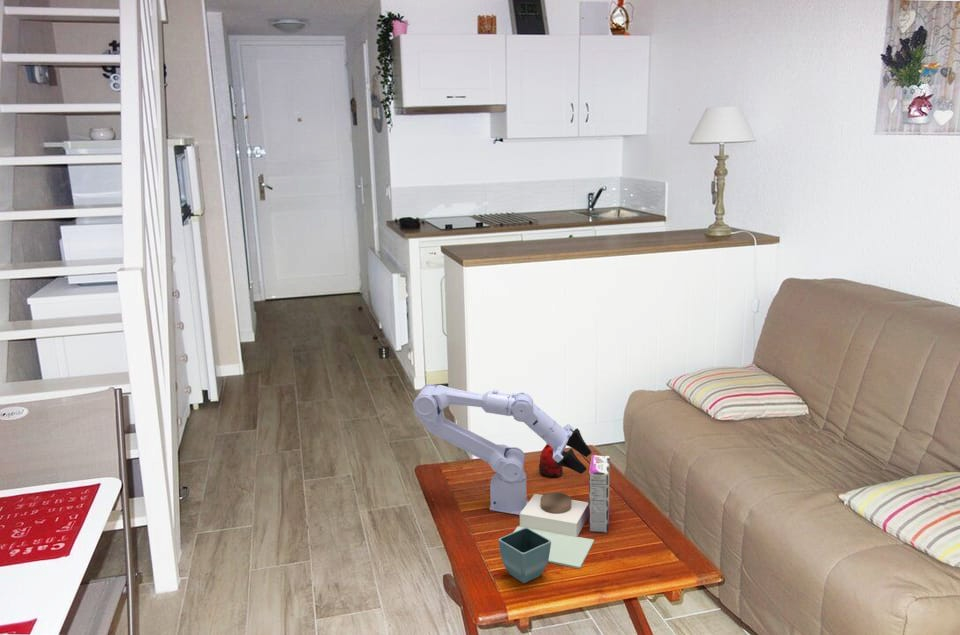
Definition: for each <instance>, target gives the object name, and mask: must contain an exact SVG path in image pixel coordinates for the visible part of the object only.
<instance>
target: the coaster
mask: <svg viewBox="0 0 960 635" xmlns="http://www.w3.org/2000/svg"><path fill="white" fill-rule="evenodd" d="M542 495H543V496H542V497H541V509H542V510H544V511H545V512H548V513H553V514H561V513H565V512H568V511H569V510H570V509H571V500H572V497H571V496H570V495H568V494H566V493H563V492H548V493H545V494H542Z"/></svg>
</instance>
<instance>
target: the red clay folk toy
mask: <svg viewBox="0 0 960 635" xmlns="http://www.w3.org/2000/svg"><path fill="white" fill-rule="evenodd" d="M545 443H546V445H545V446H544V447H543V448H542V450H541V453H540V455H539V456H540V457H539V458H540V459H539V464H538V466H539V467H538V470H539V473H540V474H541V475H544V476H545V477H548V476H549V478H554V477H557V478H559V477H560V476H561V475H562V474H563V467H564V466H558V465H557V464H556V461H555V460H554V459H553V448H552V447H551V446H550V445H549V444H548V443H547V442H545Z"/></svg>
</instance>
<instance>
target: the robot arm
mask: <svg viewBox="0 0 960 635" xmlns="http://www.w3.org/2000/svg"><path fill="white" fill-rule="evenodd" d="M412 403H413V404H412V405H413V407H412V408H413V411H414V416H415V417H416V418H418V419H419V420H420V421H421V423H422V424H423V426H424V427H425V429H426V430H427V431H428V433H430V434H431V435H433V436H435V437H436V438H439V439H441V440H443V441H445V442H447V443H448V444H451V445H453V446H454V447H456V448H459V449H461V450H462V451H464V452H467V453H468V454H470V455H472V456H475V457H476V458H478V459H480V460H482V461H485V462H486V463H488V465H489V466H490V467H491V469H492V471H494V472H495V473H494V474H493V475H492V477H491V480H490V485H489V488H490V489H489V492H490V507H489V510H490V511H495V512H499V513H504V514H505V513H506V514H509V515H510V514H511V515H515V516H520V513H521V511H522V510H523V509H524V507H525V506H526V505H527V503H528V502H529V501H530V500H527V473H526V471H525V470H524V467H525V463H526V455H525V452H524V450H522V449H521V448H520V447H519V448H518V447H515V446H508V445H506V444H496V443H494V442H493V441H491V440H489V439H486V438H484V437H483V436H481V435H478V434H477V433H475V432H473V431H471V430H469V429H467V428H465V427H464V426H461V425H459V424H457V423H456V422H453V421H452V420H449V419H448V418H446V416H445V413H444V409H445V408H448V407H449V406H451V405H457V406H467V407H468V406H469V407H477V408H481V409H482V410H483V411H484V412H485V413H487V414H494V415H498V416H499V415H500V416H505V417H510V416H511V417H513V419H514V420H515V421H517V422H521V423H524V424H525V425H526V426H527V427H528V428H529V429H530V430H532V431H533V432H534V433H535V434H536V435H537V436H538V437H540V438H541V439H542V440H543V441H544V442H545V443H546V442H547V443H546V444H549V445H550V446H551V447H552V448H553V459H554V460H555V461H556V464H557V465H558V466H562V467H564V468H566V469H567V468H568V469H570V470H572V471H574V472H576V473H578V474H581V475H583V473H584V472H586V471H587V469H588V468H587V467H586V466H585V464H584V463H583V462H582V461H581V460H580V459H579V458H578V456H577V455H576V454H575V452H574V451H573V450H575V451H576V452H578V454H580V455H582V456H583V457H585V458H588V456H591V454H592V450H591V449H590V447H589V446H588V444H587V443H586V441H585V440H584V438H583V436H582V433H581V431H580V429H579V428H575V429H574V427H573V426H572V425H571V424H570V423H567V424H566V425H565V426H564V427H562V426H561V425H560V424H559V423H558V422H557V421H555V420H554V419H553V418H552V417H551V416H550V415H549V414H547V413H546V412H545V411H544V410H543V409H541V408H540V407H539V406H538V405H536V403H535V404H534V399H533V398H532V396H530V395H529V394H527V393H525V392H518V393H514V392H513V393H512V394H511V393H504V392H500V391H499V390H498V389H493V390H489V391H487V392H485V393H483V394H482V393H478V392H474V391H472V392H471V391H469V390H468V391H467V390H462V389H457V388H453V387H449V386H445V385H442V384H437V385H436V384H432V383H429V384H426V385H424V386H422V388H421V389H420V392H419V393H418V395H417V396H416V397H415V398H414V399H413V402H412ZM566 447H570V449H569V450H566V449H567V448H566ZM565 450H566V451H565Z"/></svg>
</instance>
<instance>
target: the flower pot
mask: <svg viewBox="0 0 960 635" xmlns="http://www.w3.org/2000/svg"><path fill="white" fill-rule="evenodd" d="M514 531H515V530H514ZM514 531H513V532H511V533H509V534H506V535H505V536H502V537H500V538H498V547H499V554H500V559H501V561H502V564H503V566H504V568H505V570H506V571H507V572H508V574H509V575H510V576H511V577H513V578H515V579H517V581H519V582H520V583H522V584H526V583H527V582H530V581H532V580H534V579H536V578H539V577H541V575H542V574H543V572H544V571H545V569H546V567H547V565H548V563H549V562H548V560H549V554H550V547H551V540H549V539H547V538H545V537H543V536H542V535H540V534H538V533H536V532H534V531H532V530H531V529H529V528H526V527H525V528H522V529H520V530H518V531H515V532H514Z"/></svg>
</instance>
